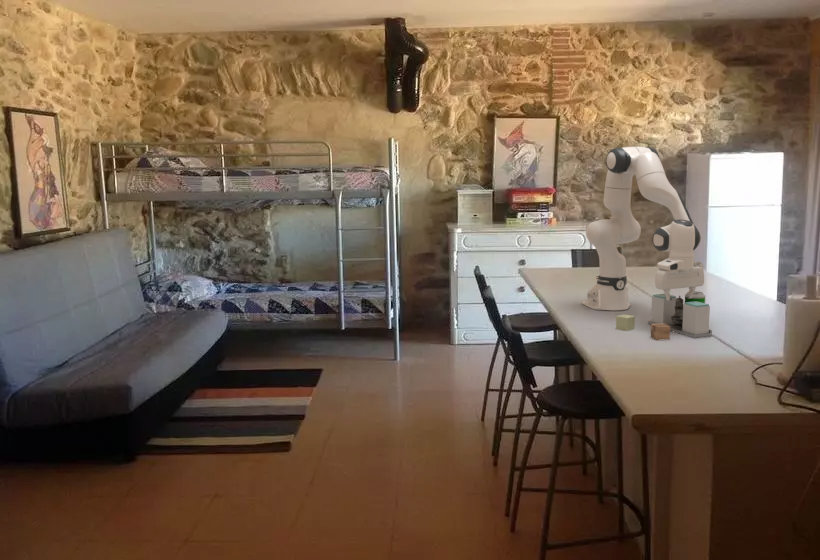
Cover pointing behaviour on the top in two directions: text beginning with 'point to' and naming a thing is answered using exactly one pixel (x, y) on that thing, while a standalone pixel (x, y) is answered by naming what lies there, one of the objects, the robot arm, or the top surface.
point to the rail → (679, 330)
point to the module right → (696, 317)
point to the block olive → (625, 322)
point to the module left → (662, 309)
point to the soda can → (696, 297)
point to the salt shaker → (678, 314)
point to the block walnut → (660, 331)
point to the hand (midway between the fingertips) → (679, 299)
